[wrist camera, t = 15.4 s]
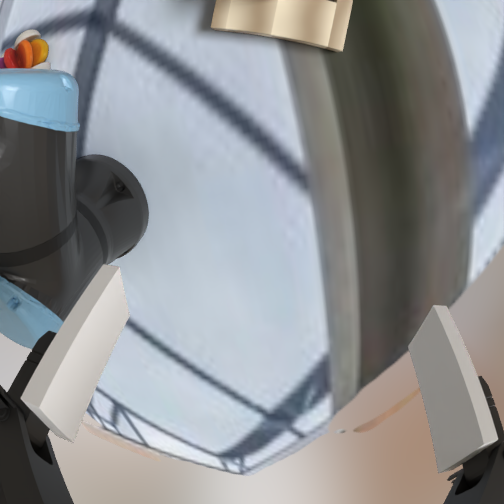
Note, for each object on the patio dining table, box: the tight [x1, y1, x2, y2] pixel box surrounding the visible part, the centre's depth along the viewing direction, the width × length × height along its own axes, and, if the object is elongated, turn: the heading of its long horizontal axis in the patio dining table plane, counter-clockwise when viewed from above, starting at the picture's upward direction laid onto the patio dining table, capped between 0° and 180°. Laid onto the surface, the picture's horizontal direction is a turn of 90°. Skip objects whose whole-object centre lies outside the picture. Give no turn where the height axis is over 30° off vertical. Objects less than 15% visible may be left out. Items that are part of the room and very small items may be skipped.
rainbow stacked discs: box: [0, 30, 50, 70], centre depth 24 cm, size 8×10×7 cm
